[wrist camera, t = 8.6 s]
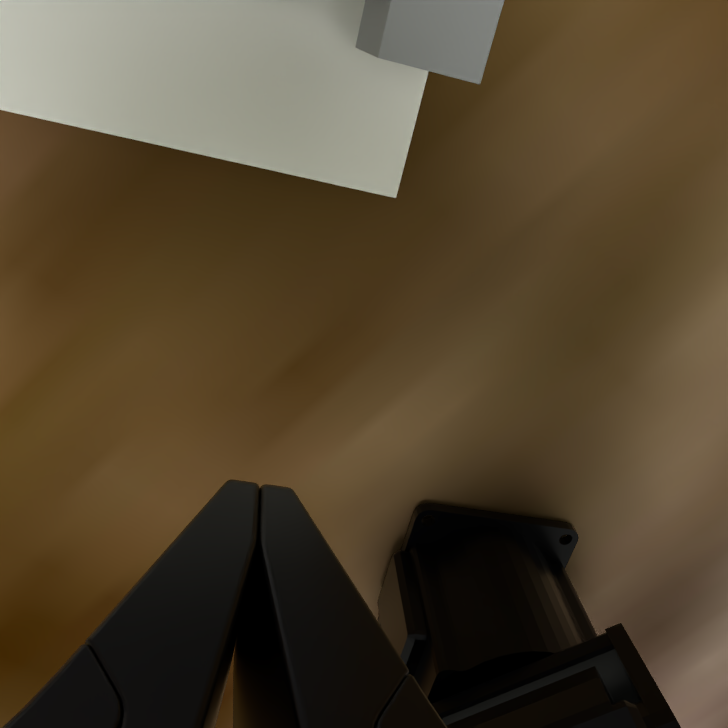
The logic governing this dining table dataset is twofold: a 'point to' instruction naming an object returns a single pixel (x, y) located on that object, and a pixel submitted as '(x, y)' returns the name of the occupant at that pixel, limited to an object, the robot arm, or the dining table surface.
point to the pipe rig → (246, 75)
